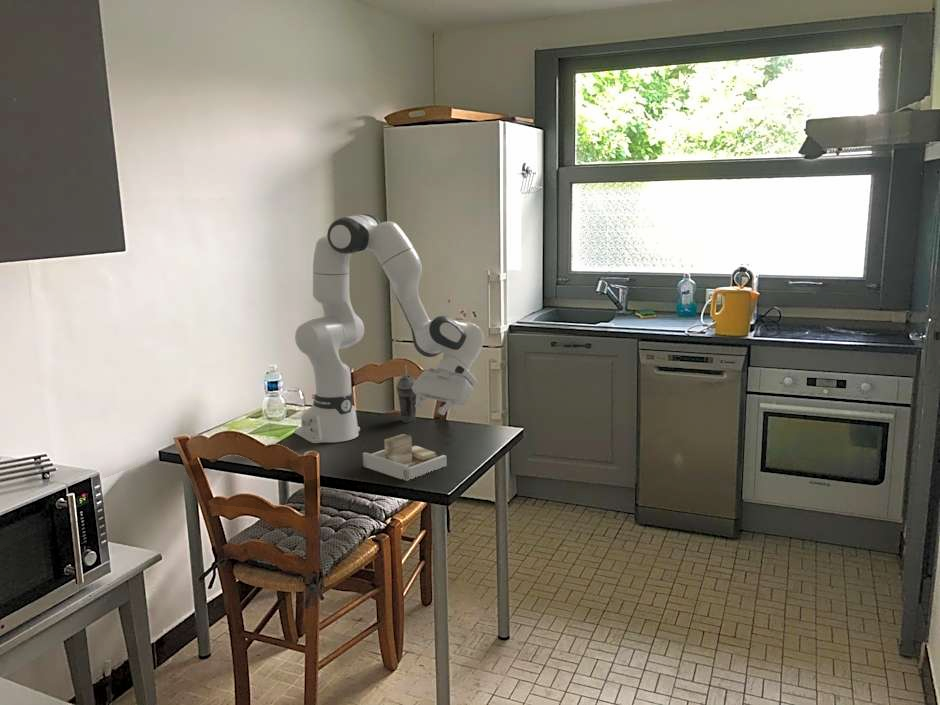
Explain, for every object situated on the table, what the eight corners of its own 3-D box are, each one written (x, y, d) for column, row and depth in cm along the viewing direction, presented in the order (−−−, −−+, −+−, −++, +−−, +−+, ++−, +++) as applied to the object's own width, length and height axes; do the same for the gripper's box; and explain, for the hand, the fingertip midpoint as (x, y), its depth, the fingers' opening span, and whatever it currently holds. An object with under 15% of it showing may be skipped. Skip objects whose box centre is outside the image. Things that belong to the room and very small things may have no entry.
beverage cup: (421, 417, 271) (419, 361, 267) (417, 423, 264) (415, 365, 260) (400, 417, 272) (398, 361, 268) (395, 423, 264) (393, 365, 260)
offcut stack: (394, 459, 229) (393, 447, 228) (408, 454, 233) (407, 442, 232) (427, 469, 219) (427, 457, 219) (441, 464, 223) (441, 452, 223)
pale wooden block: (385, 470, 219) (384, 439, 218) (404, 463, 224) (402, 433, 223) (394, 473, 217) (392, 442, 215) (412, 466, 222) (411, 436, 220)
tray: (363, 466, 223) (362, 453, 222) (403, 452, 234) (403, 440, 233) (406, 481, 211) (406, 466, 210) (446, 465, 222) (446, 452, 221)
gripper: (421, 361, 237) (398, 399, 232) (471, 370, 223) (448, 411, 218) (432, 373, 241) (410, 410, 236) (481, 383, 227) (459, 423, 222)
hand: (428, 411), depth 227 cm, fingers open, 8 cm apart
